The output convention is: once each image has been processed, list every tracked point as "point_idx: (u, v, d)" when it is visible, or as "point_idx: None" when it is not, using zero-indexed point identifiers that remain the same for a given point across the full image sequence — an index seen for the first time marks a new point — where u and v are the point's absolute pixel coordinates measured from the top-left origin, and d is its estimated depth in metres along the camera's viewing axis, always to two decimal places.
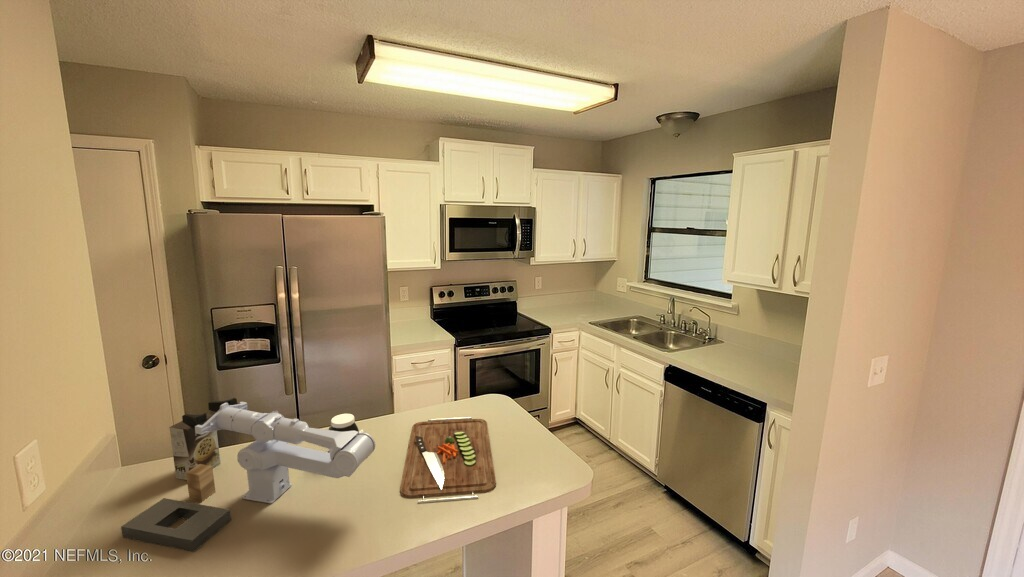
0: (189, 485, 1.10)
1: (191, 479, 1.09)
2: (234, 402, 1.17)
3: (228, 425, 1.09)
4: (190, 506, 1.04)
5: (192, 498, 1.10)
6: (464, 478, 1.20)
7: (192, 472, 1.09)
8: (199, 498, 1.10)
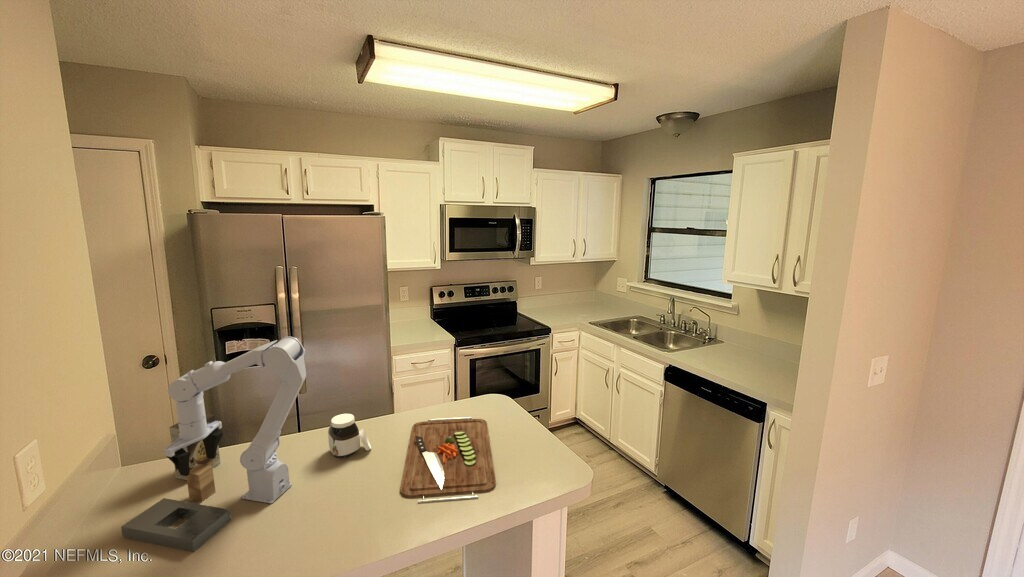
0: (189, 485, 1.10)
1: (191, 479, 1.09)
2: None
3: (182, 427, 1.05)
4: (190, 506, 1.04)
5: (192, 498, 1.10)
6: (464, 478, 1.20)
7: (192, 472, 1.09)
8: (199, 498, 1.10)
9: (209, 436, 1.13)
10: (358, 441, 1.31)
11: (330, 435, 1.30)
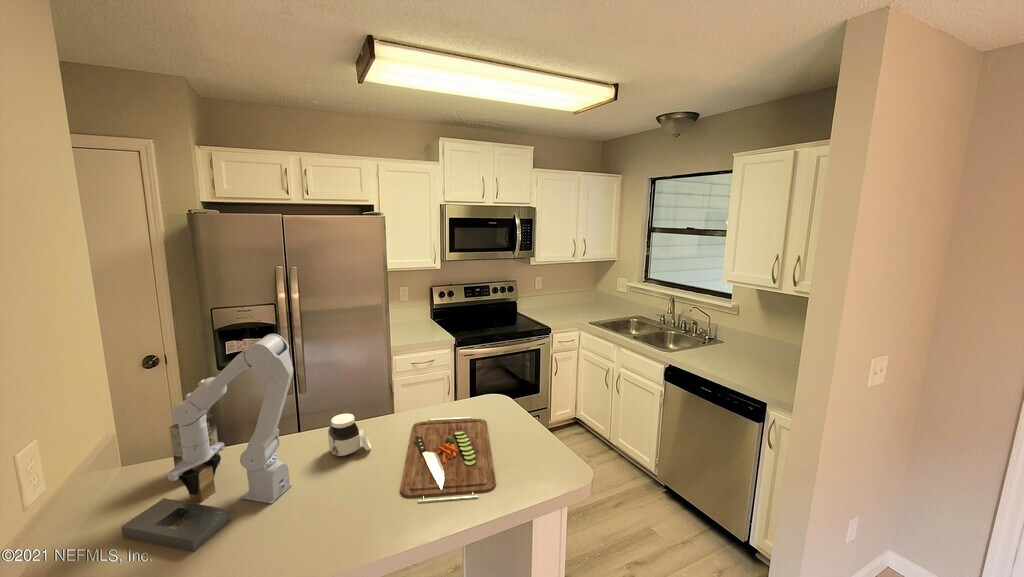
0: None
1: None
2: None
3: (185, 450, 1.07)
4: (190, 506, 1.04)
5: (192, 498, 1.10)
6: (464, 478, 1.20)
7: None
8: (199, 498, 1.10)
9: (207, 461, 1.12)
10: (358, 441, 1.31)
11: (330, 435, 1.30)
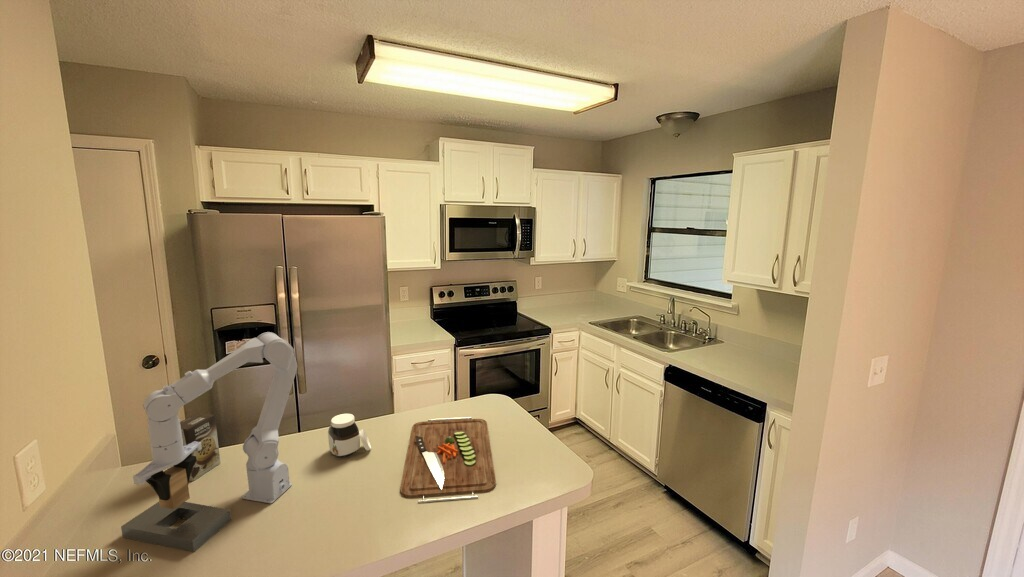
0: None
1: None
2: None
3: (154, 450, 0.94)
4: (190, 506, 1.04)
5: (162, 505, 0.98)
6: (464, 478, 1.20)
7: None
8: (170, 505, 0.97)
9: (181, 462, 1.00)
10: (358, 441, 1.31)
11: (330, 435, 1.30)
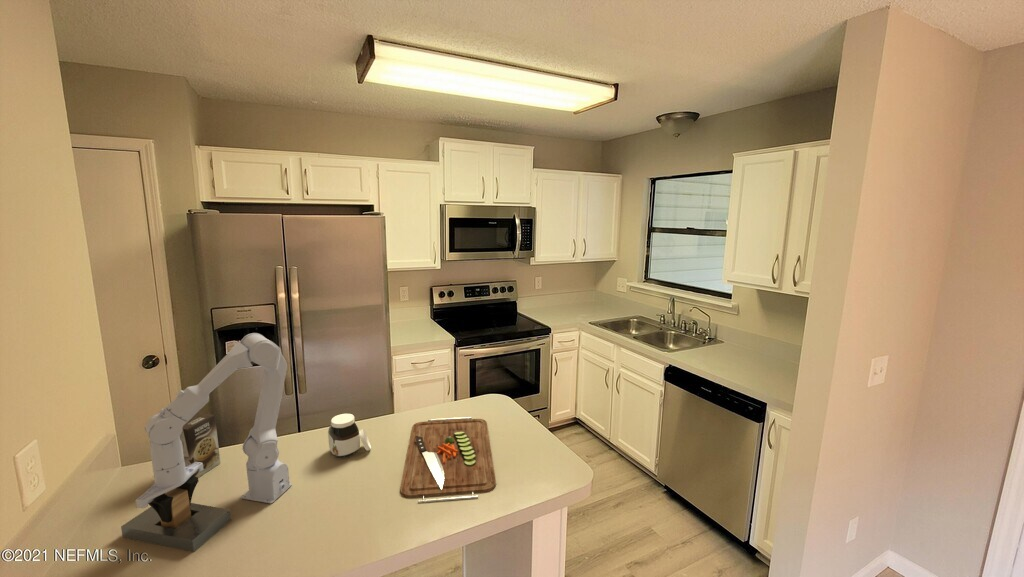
0: None
1: None
2: None
3: (156, 473, 0.95)
4: (190, 506, 1.04)
5: (165, 526, 0.98)
6: (464, 478, 1.20)
7: None
8: (172, 527, 0.98)
9: (183, 484, 1.01)
10: (358, 441, 1.31)
11: (330, 435, 1.30)
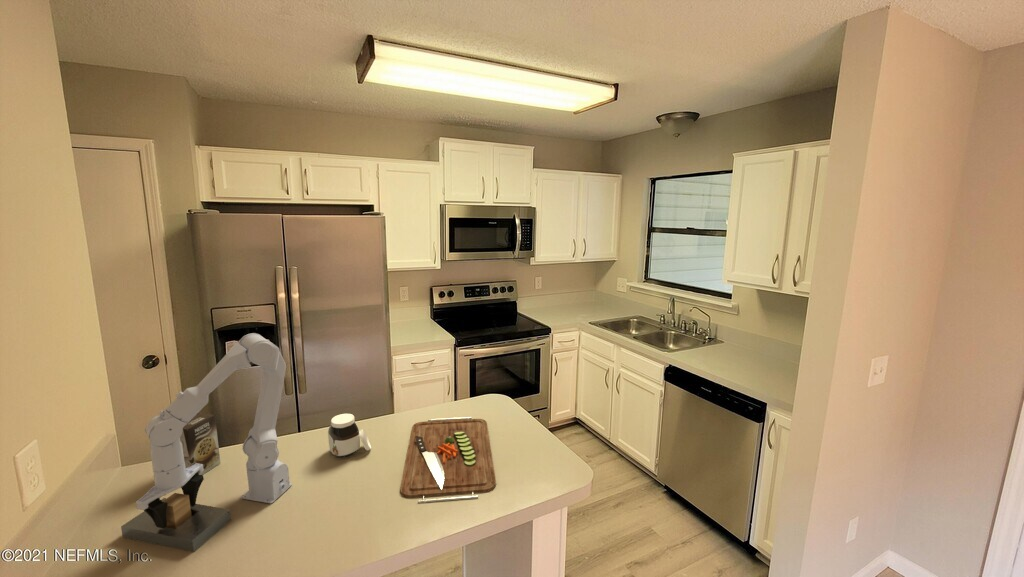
0: None
1: None
2: None
3: (157, 475, 0.95)
4: (190, 506, 1.04)
5: None
6: (464, 478, 1.20)
7: None
8: None
9: (188, 482, 1.02)
10: (358, 441, 1.31)
11: (330, 435, 1.30)
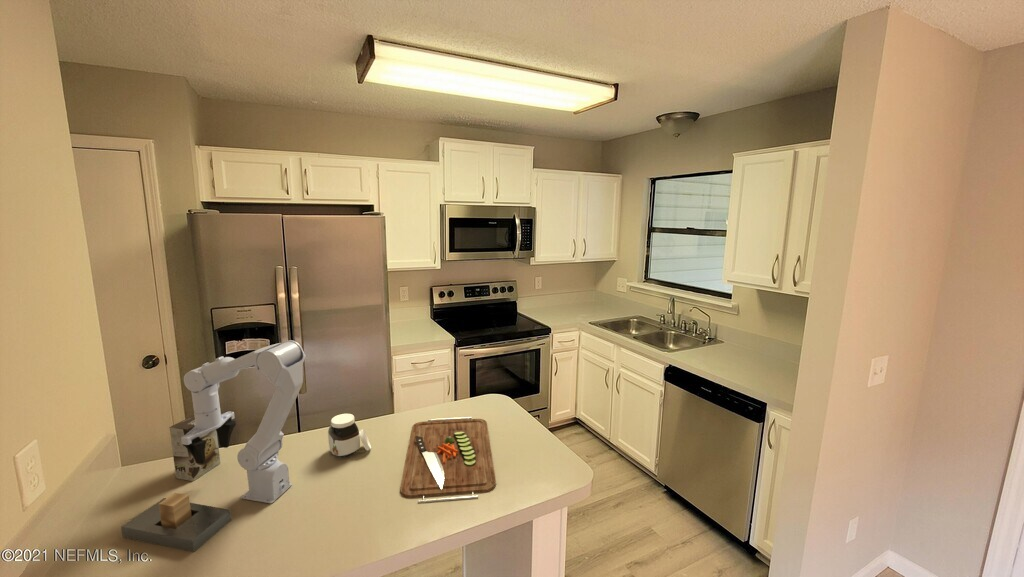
0: (162, 517, 0.98)
1: (164, 511, 0.98)
2: None
3: (198, 416, 1.10)
4: (190, 506, 1.04)
5: None
6: (464, 478, 1.20)
7: (165, 503, 0.98)
8: None
9: (223, 426, 1.17)
10: (358, 441, 1.31)
11: (330, 435, 1.30)
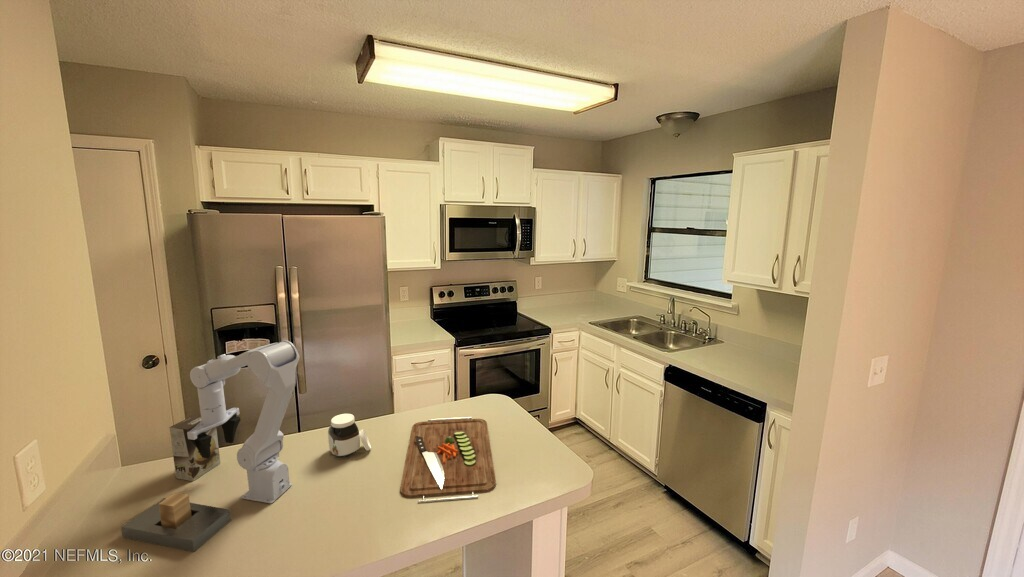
0: (162, 517, 0.98)
1: (164, 511, 0.98)
2: None
3: (203, 412, 1.12)
4: (190, 506, 1.04)
5: None
6: (464, 478, 1.20)
7: (165, 503, 0.98)
8: None
9: (228, 422, 1.20)
10: (358, 441, 1.31)
11: (330, 435, 1.30)
